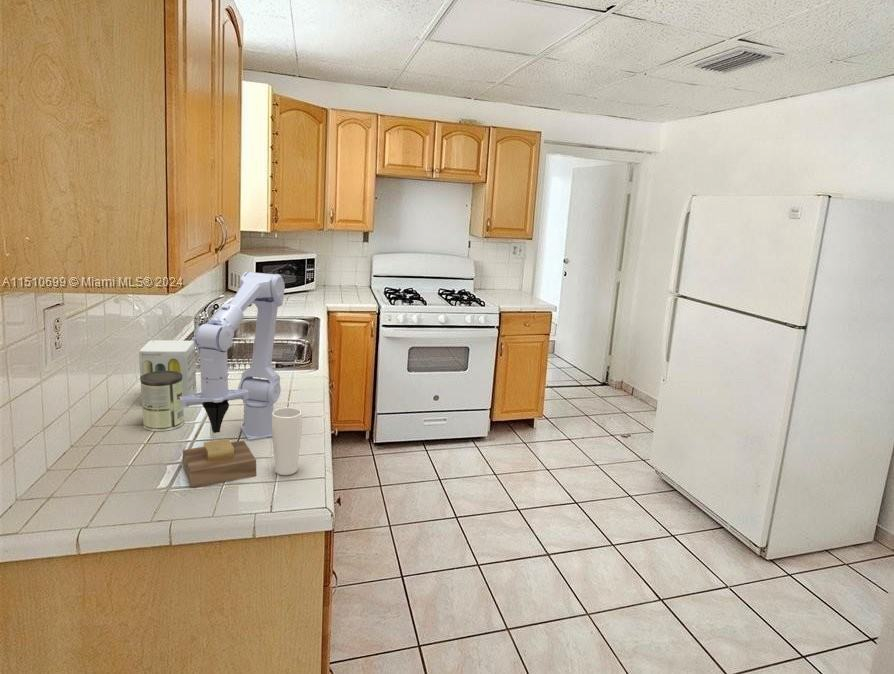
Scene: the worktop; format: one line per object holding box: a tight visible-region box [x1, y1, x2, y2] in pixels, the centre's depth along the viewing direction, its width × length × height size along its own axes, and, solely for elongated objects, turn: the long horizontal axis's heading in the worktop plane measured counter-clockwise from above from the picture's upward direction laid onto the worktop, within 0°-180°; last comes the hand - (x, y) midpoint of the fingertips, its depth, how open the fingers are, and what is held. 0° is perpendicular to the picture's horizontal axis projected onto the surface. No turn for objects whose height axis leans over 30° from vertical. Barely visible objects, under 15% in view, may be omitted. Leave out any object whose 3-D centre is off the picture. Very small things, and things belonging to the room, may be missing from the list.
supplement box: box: [138, 339, 198, 398], centre depth 173 cm, size 13×13×18 cm
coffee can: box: [139, 371, 185, 432], centre depth 155 cm, size 10×10×14 cm
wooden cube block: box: [203, 438, 234, 462], centre depth 132 cm, size 6×6×6 cm
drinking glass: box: [271, 406, 303, 476], centre depth 134 cm, size 7×7×15 cm
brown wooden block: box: [181, 440, 257, 489], centre depth 133 cm, size 12×14×4 cm
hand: (215, 431), depth 132 cm, fingers closed
